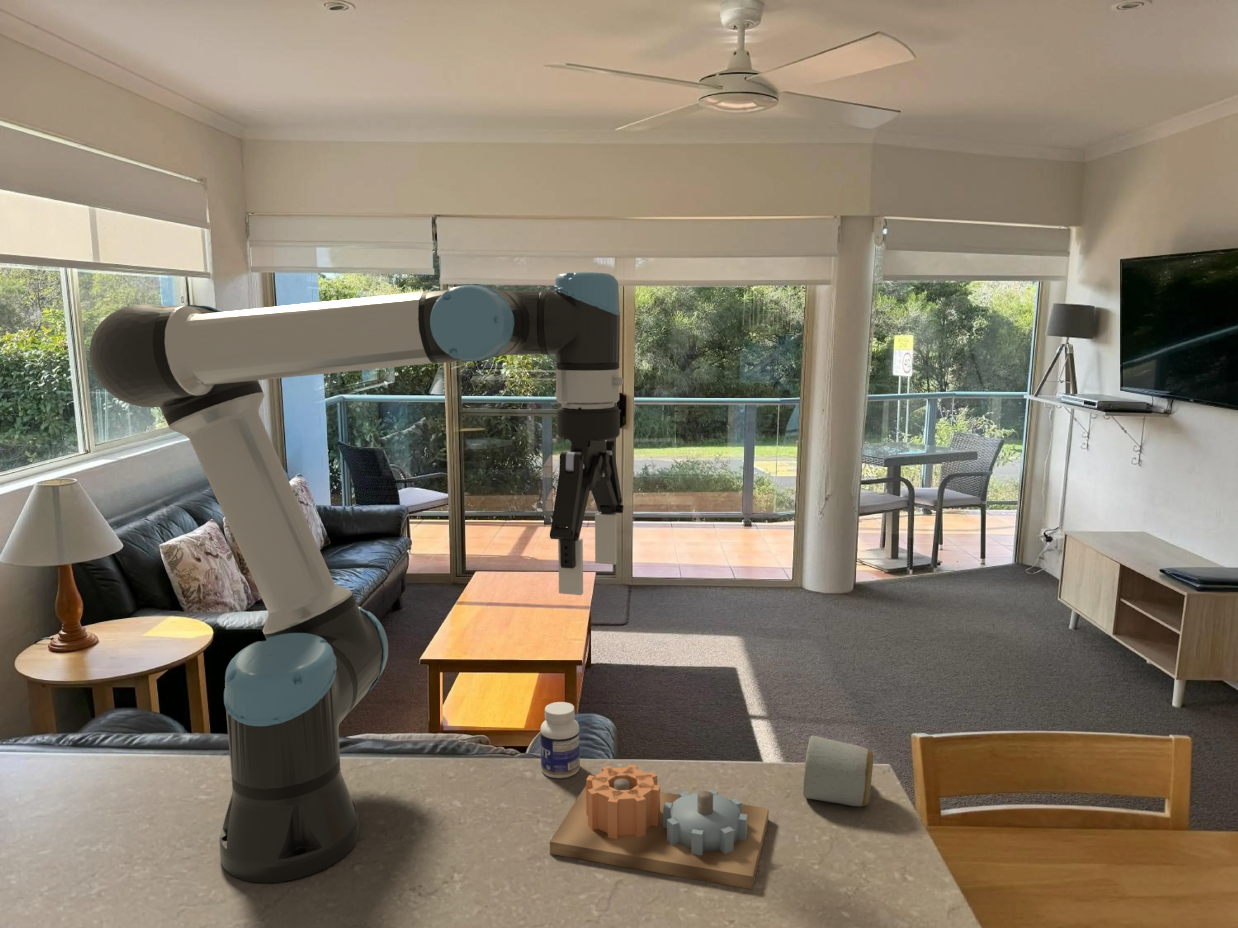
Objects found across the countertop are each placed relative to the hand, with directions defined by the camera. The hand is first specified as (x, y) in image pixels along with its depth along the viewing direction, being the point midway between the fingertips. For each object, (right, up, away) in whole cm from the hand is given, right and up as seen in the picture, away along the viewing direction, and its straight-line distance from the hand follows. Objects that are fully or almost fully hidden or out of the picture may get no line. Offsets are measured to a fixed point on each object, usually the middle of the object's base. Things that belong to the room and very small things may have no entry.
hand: (589, 577), depth 109 cm
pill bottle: (-4, -28, +11) cm, 30 cm away
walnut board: (+9, -30, -5) cm, 31 cm away
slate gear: (+14, -29, -6) cm, 32 cm away
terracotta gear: (+4, -28, -4) cm, 29 cm away
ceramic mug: (+31, -29, +5) cm, 43 cm away
